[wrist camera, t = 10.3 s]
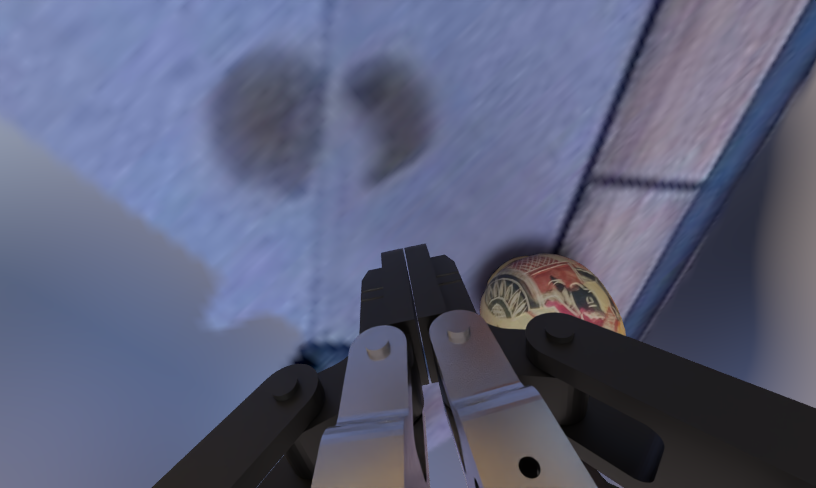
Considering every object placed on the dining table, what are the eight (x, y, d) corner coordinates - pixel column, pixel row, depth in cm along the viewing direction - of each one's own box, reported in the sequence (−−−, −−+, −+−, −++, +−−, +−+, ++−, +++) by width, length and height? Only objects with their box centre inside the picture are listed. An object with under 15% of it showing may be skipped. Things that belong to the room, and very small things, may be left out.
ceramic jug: (584, 230, 46) (870, 458, 19) (558, 318, 53) (739, 570, 27) (462, 233, 44) (591, 483, 18) (452, 323, 51) (533, 594, 25)
